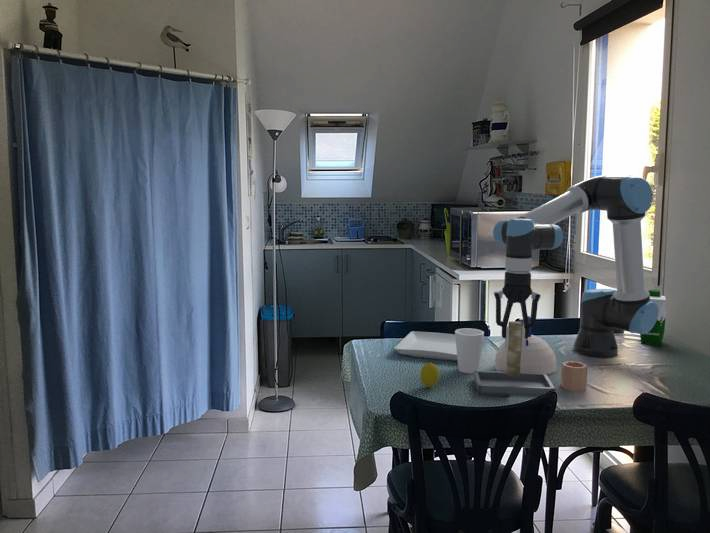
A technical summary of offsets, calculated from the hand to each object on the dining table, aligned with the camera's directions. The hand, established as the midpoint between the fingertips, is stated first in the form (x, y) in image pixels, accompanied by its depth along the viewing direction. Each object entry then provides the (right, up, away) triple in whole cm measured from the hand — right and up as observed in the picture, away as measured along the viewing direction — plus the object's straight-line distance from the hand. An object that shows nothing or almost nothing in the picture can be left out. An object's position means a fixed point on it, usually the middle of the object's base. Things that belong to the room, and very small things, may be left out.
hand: (514, 348), depth 191 cm
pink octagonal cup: (+18, -13, +1) cm, 22 cm away
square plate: (-17, -7, +42) cm, 46 cm away
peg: (0, -8, +1) cm, 8 cm away
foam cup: (-10, -10, +20) cm, 24 cm away
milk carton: (+67, -5, +56) cm, 87 cm away
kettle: (+9, -10, +22) cm, 26 cm away
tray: (0, -12, +2) cm, 13 cm away
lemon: (-25, -12, +2) cm, 28 cm away
